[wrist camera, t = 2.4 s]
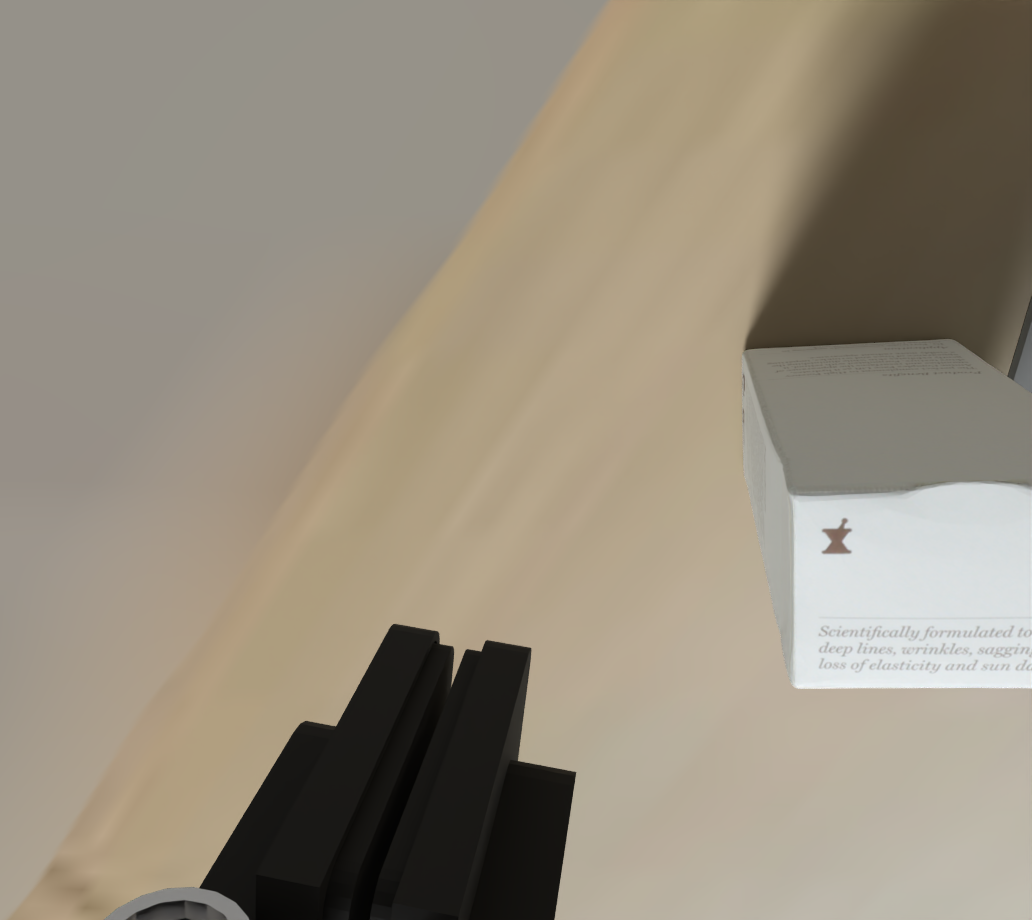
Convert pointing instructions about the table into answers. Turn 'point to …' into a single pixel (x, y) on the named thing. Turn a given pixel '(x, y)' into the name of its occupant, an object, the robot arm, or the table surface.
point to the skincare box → (892, 513)
